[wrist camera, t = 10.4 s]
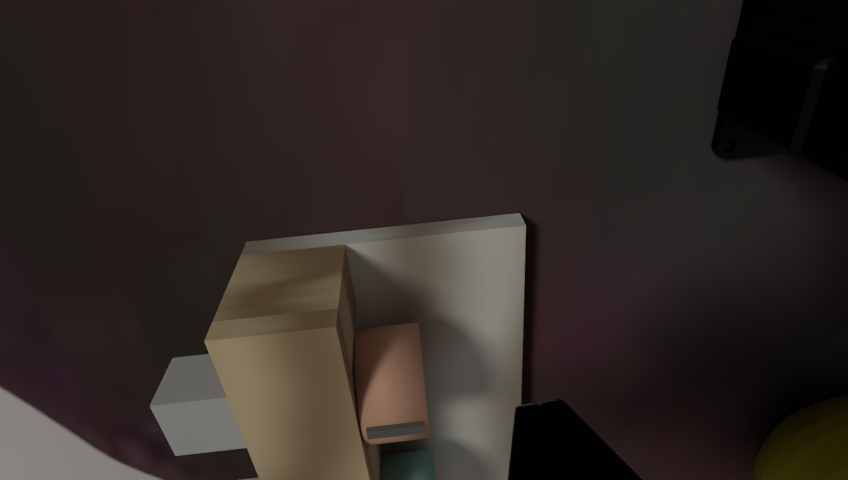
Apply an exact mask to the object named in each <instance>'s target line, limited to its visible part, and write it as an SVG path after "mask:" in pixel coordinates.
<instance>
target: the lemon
mask: <svg viewBox="0 0 848 480" xmlns="http://www.w3.org/2000/svg"><path fill="white" fill-rule="evenodd" d="M753 473H754V480H848V396H844V397H838V398H831V399H827V400H824V401H820V402H816V403H814V404H811V405H809V406H806V407H803V408H801V409H799V410H797V411H796V412H794V413H792V414H790V415H789V416H787V417H786V418H785V419H784V420H782V421H781V422H780V423H779V424H778V425H777V426H776V427H775V428H774V429H773V430H772V431H771V433H770V434H769V435H768V436H767V438H766V439H765V441H764V442H763V444H762V445H761V448H760V450H759V452H758V454H757V456H756V460H755V465H754V470H753Z"/></svg>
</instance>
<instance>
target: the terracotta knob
mask: <svg viewBox="0 0 848 480" xmlns="http://www.w3.org/2000/svg"><path fill="white" fill-rule="evenodd" d="M352 377H353V381H354V386H355V391H356V395H357V405H358V413H359V420H360V426H361V431H362V436H363V439H364V442H365V444H366V445H374V444H382V443H391V442H400V441H409V440H418V439H427V438H430V428H429V418H428V408H427V398H426V388H425V378H424V369H423V359H422V350H421V341H420V332H419V323H418V322H417V323H408V324H398V325H389V326H380V327H371V328H361V329H358V330H357V332H356V338H354V347H353V363H352ZM150 408H151V410H152V412H153V413H154V415H155V417H156V419H157V421H158V423H159V425H160V427H161V429H162V431H163V433H164V435H165V437H166V438H167V440H168V442H169V444H170V446H171V448H172V450H173V452H174V454H175V456H178V455H187V454H196V453H205V452H214V451H223V450H232V449H241V448H247V447H246V444H245V442H244V439H243V437H242V434H241V432H240V429H239V427H238V424H237V422H236V419H235V417H234V414H233V412H232V409H231V407H230V404H229V402H228V399H227V397H226V394H225V392H224V389H223V387H222V384H221V382H220V379H219V377H218V374H217V372H216V369H215V367H214V364H213V362H212V359H211V357H210V354H206V355H196V356H187V357H178V358H173V359H172V361H171V363H170V365H169V367H168V369H167V371H166V373H165V375H164V377H163V379H162V381H161V383H160V386H159V388H158V390H157V392H156V394H155V396H154V398H153V400H152V402H151V404H150Z"/></svg>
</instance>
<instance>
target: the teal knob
mask: <svg viewBox="0 0 848 480" xmlns="http://www.w3.org/2000/svg"><path fill="white" fill-rule="evenodd" d="M242 480H260V479H259V478H251V479H242ZM380 480H436V477H435V467H434V458H433V450H432V449H426V450H417V451H408V452H400V453H391V454H383V456H382V464H380Z"/></svg>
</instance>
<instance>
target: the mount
mask: <svg viewBox="0 0 848 480" xmlns="http://www.w3.org/2000/svg"><path fill="white" fill-rule="evenodd" d="M525 245H526V224H525V222H524V220H523V218H522V216H521V214H520V213H517V214H507V215H498V216H488V217H479V218H469V219H459V220H450V221H440V222H431V223H421V224H412V225H402V226H393V227H383V228H374V229H364V230H354V231H345V232H335V233H326V234H316V235H307V236H297V237H288V238H278V239H268V240H259V241H249V242H246V244H245V246H244V249H243V251H242V254H241V256H240V258H239V261H238V263H237V265H236V268H235V270H234V272H233V275H232V277H231V279H230V282H229V284H228V286H227V289H226V291H225V294H224V296H223V298H222V301H221V303H220V305H219V308H218V310H217V312H216V315H215V317H214V319H213V322H212V324H211V326H210V329H209V331H208V334H207V336H206V338H205V341H204V342H205V345H206V347H207V349H208V352H209V354H210V357H211V359H212V362H213V364H214V367H215V369H216V372H217V374H218V377H219V379H220V382H221V384H222V387H223V389H224V392H225V394H226V397H227V399H228V402H229V404H230V407H231V409H232V412H233V414H234V417H235V419H236V422H237V424H238V427H239V429H240V432H241V434H242V437H243V439H244V442H245V444H246V447H247V449H248V452H249V454H250V457H251V459H252V462H253V464H254V467H255V469H256V472H257V474H258V477H259V479H260V480H380V464H382V456H383V454H391V453H400V452H408V451H417V450H426V449H432V450H433V458H434V467H435V477H436V480H508V472H509V462H510V452H511V443H512V433H513V424H514V414H515V408H516V407H517V406H519V405H521V393H522V356H523V319H524V282H525ZM417 322H418V323H419V332H420V341H421V350H422V359H423V369H424V378H425V388H426V398H427V408H428V418H429V428H430V438H427V439H418V440H409V441H400V442H391V443H382V444H374V445H366V444H365V442H364V439H363V436H362V431H361V426H360V420H359V413H358V405H357V395H356V391H355V386H354V381H353V377H352V363H353V347H354V338H356V332H357V330H358V329H361V328H371V327H380V326H389V325H398V324H408V323H417Z"/></svg>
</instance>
